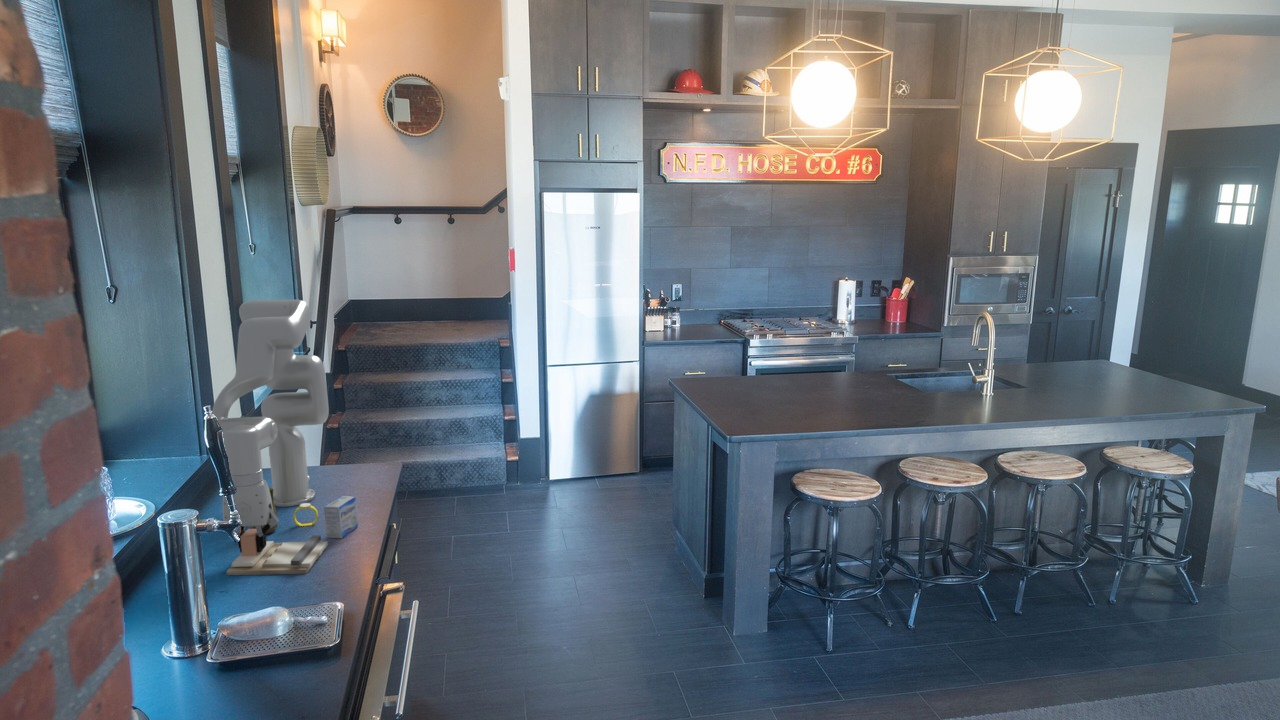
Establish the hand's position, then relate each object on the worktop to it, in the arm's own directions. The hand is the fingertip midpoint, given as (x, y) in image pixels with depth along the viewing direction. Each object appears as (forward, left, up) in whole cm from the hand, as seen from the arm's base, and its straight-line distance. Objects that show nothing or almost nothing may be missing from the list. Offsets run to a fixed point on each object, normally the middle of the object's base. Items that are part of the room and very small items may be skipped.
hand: (252, 549), depth 189 cm
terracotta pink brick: (0, 0, -1) cm, 1 cm away
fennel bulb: (-17, -4, -3) cm, 17 cm away
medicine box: (-16, +16, -3) cm, 23 cm away
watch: (-21, +5, -3) cm, 21 cm away
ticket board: (0, +6, -3) cm, 7 cm away
